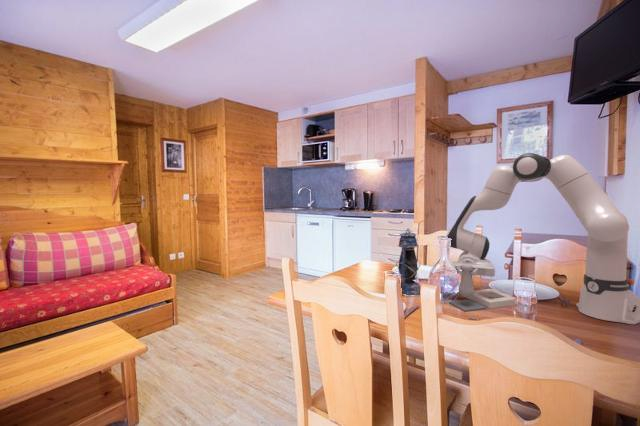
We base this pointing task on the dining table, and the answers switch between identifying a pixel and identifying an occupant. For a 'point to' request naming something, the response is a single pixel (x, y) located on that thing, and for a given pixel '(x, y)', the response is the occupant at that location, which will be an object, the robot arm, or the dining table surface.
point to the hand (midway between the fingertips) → (466, 273)
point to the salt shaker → (466, 281)
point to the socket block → (499, 300)
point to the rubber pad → (467, 305)
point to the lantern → (408, 264)
